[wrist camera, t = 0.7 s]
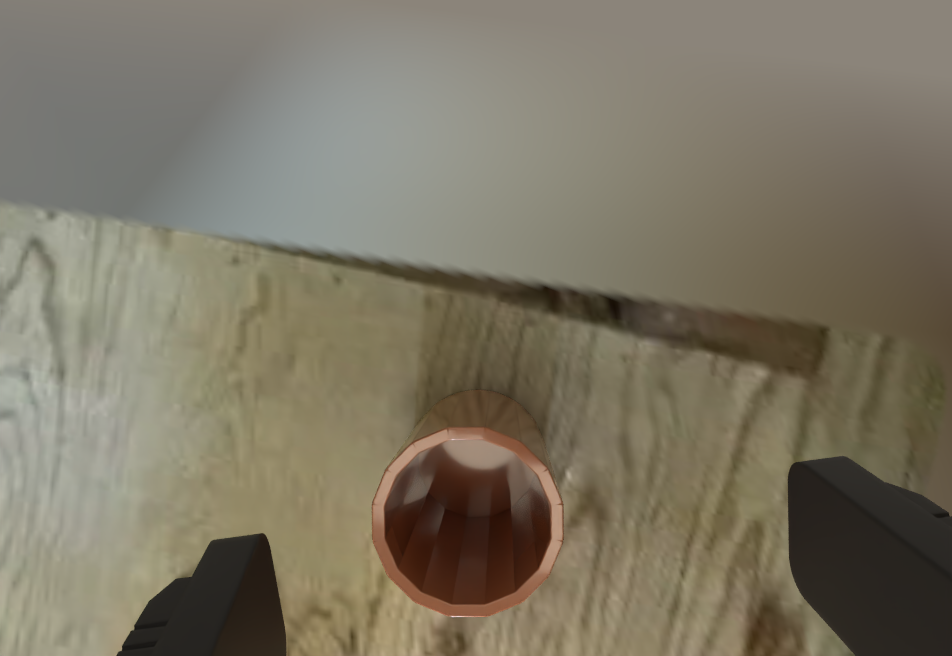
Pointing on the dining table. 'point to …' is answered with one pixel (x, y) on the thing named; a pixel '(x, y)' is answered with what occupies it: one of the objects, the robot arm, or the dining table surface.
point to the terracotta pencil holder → (469, 508)
